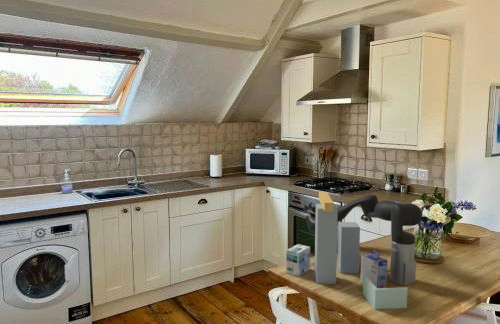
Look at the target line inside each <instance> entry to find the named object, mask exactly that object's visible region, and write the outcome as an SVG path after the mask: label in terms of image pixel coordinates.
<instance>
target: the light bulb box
mask: <svg viewBox="0 0 500 324" xmlns="http://www.w3.org/2000/svg"><path fill="white" fill-rule="evenodd" d="M285 255H286V265H285V266H286V274H289V275H293V276H297V277H300V276H301V275H303V274H305V273H306V272H308V271H310V270H311V246H308V245H303V244H300V243H298V244H296V245H294V246H292V247H290V248H288V249H286V254H285Z"/></svg>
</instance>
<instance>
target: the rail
mask: <svg viewBox="0 0 500 324" xmlns="http://www.w3.org/2000/svg"><path fill="white" fill-rule="evenodd" d="M318 200H319V202H320V204H321V205H322V207H323V209H324V211H330V212H334V201H333V199H332V198H331V196H330V195H329V193H328V191H319V192H318Z"/></svg>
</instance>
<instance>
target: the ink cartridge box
mask: <svg viewBox="0 0 500 324" xmlns="http://www.w3.org/2000/svg"><path fill="white" fill-rule="evenodd" d="M375 253H377V254H375ZM387 273H388V259H386V258H383V257H381V252H380V251H378V250H376V249H373V251H372V253H371V252H370V253H364V254H362V255H361V262H360V276H359V277H360V280H359V283H361V284H363V276H367V278H368V279H369V280H370V281H371V282H372V283H373V284H374V285H375V286H376V288H387V279H388V278H387V277H388V274H387Z"/></svg>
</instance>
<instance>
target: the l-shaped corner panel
mask: <svg viewBox="0 0 500 324" xmlns="http://www.w3.org/2000/svg"><path fill="white" fill-rule="evenodd" d="M362 285H363V286H362V295H363V296H364V298H365V299H366V300H367V302H369V304H370V305H371V307H372V308H373V309H374V310H387V309H407V307H408V306H407V304H408V287H406V286H403V287H386V288H376V286H375V285H374V284H373V283H372V282H371V281H370V280H369V279H368V278H367V276H363V283H362Z"/></svg>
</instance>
